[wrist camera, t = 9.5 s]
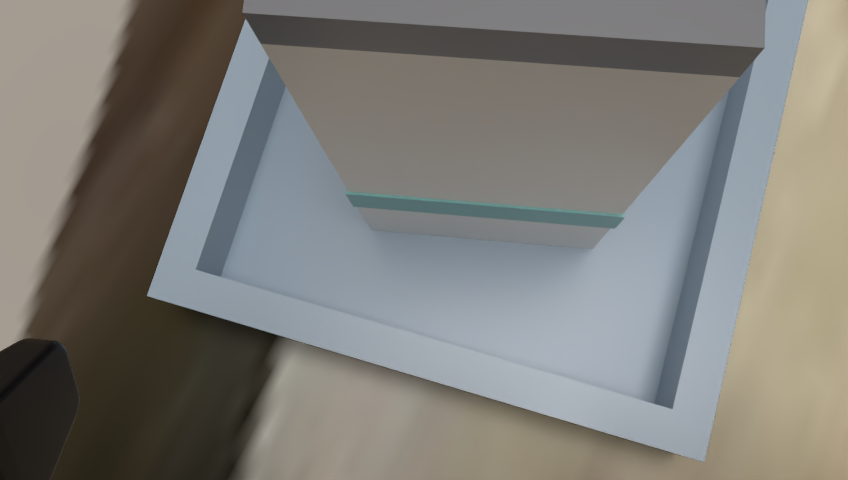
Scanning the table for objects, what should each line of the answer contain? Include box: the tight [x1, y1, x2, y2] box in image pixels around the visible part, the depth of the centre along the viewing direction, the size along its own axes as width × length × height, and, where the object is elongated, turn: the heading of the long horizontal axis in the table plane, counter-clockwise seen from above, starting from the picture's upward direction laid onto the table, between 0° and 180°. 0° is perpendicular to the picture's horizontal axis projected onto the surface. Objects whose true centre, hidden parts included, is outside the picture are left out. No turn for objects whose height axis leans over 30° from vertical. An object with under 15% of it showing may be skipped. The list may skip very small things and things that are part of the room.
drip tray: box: [147, 0, 808, 462], centre depth 18 cm, size 12×12×2 cm
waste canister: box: [242, 0, 766, 249], centre depth 13 cm, size 5×5×10 cm
